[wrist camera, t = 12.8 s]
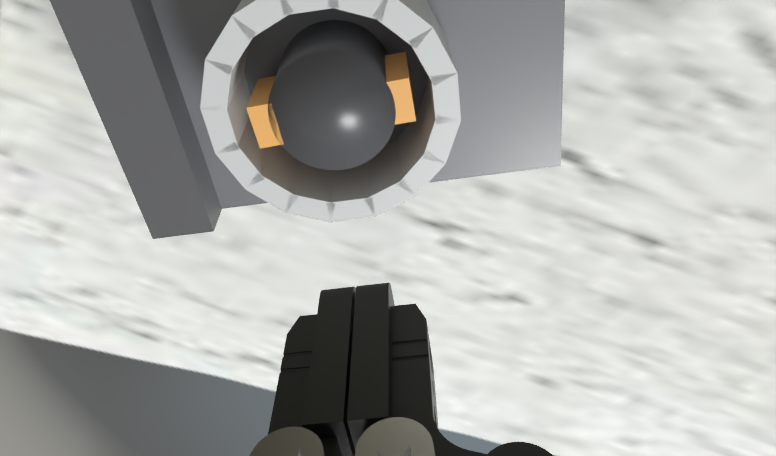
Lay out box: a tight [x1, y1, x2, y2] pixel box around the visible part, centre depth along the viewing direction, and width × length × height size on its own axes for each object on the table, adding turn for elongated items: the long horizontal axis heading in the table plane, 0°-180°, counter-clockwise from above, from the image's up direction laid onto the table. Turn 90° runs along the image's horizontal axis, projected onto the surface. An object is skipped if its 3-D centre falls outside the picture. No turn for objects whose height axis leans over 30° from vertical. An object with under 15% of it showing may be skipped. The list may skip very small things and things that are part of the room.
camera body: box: [50, 0, 565, 239], centre depth 29 cm, size 20×12×11 cm, turn 98°
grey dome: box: [246, 20, 416, 170], centre depth 26 cm, size 6×5×4 cm
